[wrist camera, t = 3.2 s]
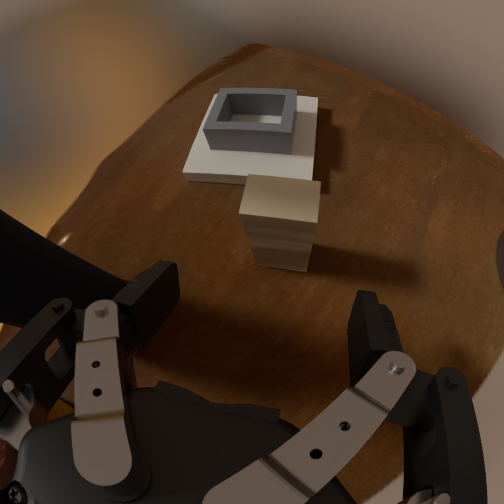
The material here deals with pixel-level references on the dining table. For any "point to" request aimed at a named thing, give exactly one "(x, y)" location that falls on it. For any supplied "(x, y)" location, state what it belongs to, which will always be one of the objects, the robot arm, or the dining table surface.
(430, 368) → the dining table surface
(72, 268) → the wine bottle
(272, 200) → the slat
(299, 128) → the socket base
